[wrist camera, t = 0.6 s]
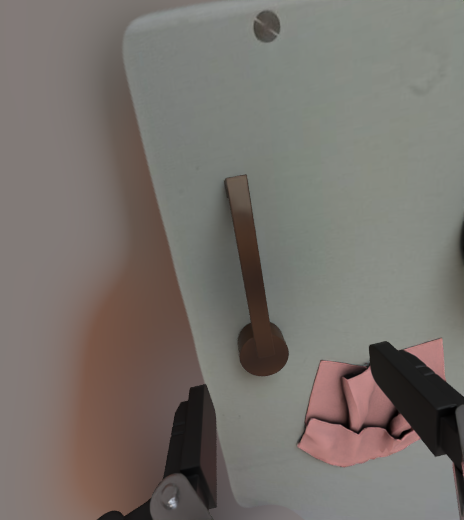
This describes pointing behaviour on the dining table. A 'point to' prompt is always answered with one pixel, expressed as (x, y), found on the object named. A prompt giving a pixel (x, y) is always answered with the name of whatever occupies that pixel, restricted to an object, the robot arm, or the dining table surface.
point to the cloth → (359, 412)
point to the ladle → (253, 289)
